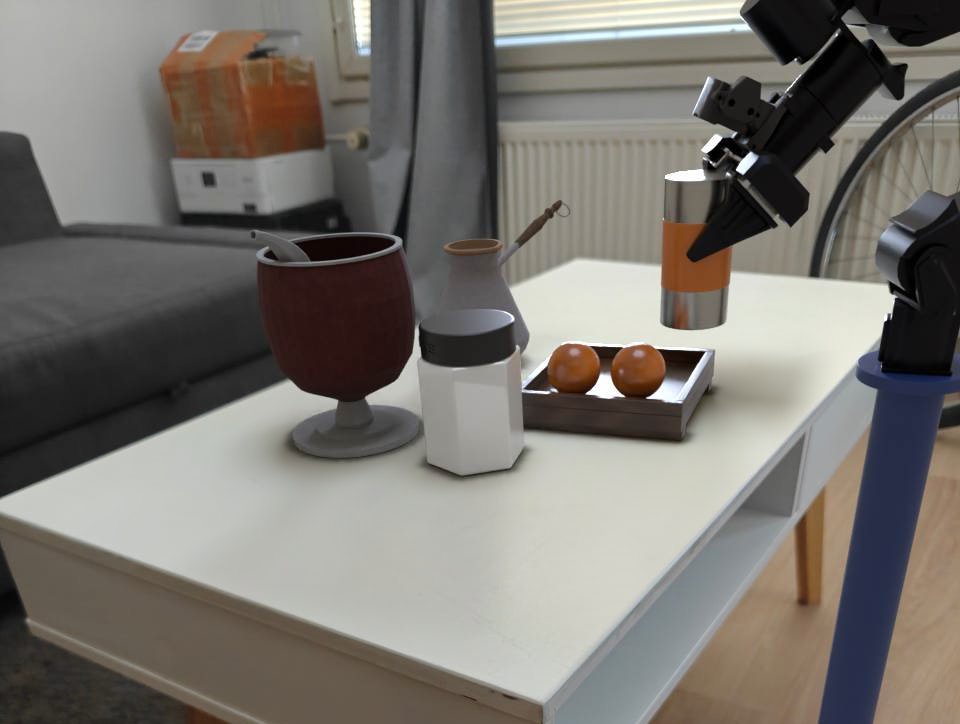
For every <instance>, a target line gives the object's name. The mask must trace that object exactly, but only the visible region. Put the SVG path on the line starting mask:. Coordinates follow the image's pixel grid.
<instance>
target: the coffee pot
mask: <svg viewBox="0 0 960 724" xmlns="http://www.w3.org/2000/svg"><path fill="white" fill-rule="evenodd" d="M562 205H563V206H564V207H566V208H567V209H568V214H567V215H564V214H561V213H560V212H558V211H559V210H560V208H561V207H562ZM555 214H556V215H558V216H559V217H561V218H567V217H569V216H570V215H571V208H570V206H569V205H568V204H566V203H565V202H563V200H562V199H558V200H556V201H555V202H553V204H552V205H551V207H546V208H545V209H544V213H543V214H541V215H540V216H538V217H537V218H535V219H533V221H532V222H531V223H530V224H529V225H528V226H527V228H526V229H524V231H523V232H522V233H521V234H520V235H518V238H516V240H515V241H514V242H513V244H511V245H510V246H509V247H508V248H507V249H506V250H505V251H504V252H503V253H501V255H500V250H501V249H502V248H503V246H504V242H503V241H502V240H499V239H493V238H470V239H463V240H457V241H452V242H449V243H447V244H445V245H444V246H443V252H444V253H445V254H447V256H448V260H449V263H450V269H449V273H448V275H447V279H446V282H445V286H444V289H443V292H442V294H441V299H440V302H439V306H438V309H437V312H436V315H437V314H440V313H445V312H450V311H456V310H466V309H490V310H498V311H503V312H506V313H508V314H510V315H512V316H513V317H514V319H515V331H516V345H517V346H519V347H520V356H522V354H523V353H524V352H525V351H526V349H527V348H528V345H529V342H530V338H531V337H530V335H531V334H530V331H529V329H528V326H527V324H526V322H525V320H524V318H523V316H522V313H521V311H520V309H519V307H518V304H517V303H516V301H515V300H516V299H515V298H514V295H513V293H512V291H511V290H510V287H509V285H508V282H507V280H506V278H505V276H504V274H503V271H502V269H501V267H502V266H503V265H505V264H506V262H508V260H509V259H510V258H511V257H512V256H513V255H514V254H515V253H516V252H517V250H518V249H521V248H522V247H523V246H524V245H525V244H527V242H529V240H531V239H532V238H534V236H535V235H536V234H538V233H539V232H540V231H541V230H542V229H543V227H544V226H545V225H546V223H547V222H548V220H550V219H553V218H554V216H555Z"/></svg>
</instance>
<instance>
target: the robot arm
mask: <svg viewBox="0 0 960 724" xmlns="http://www.w3.org/2000/svg"><path fill="white" fill-rule="evenodd" d="M738 16H739V17H740V18H741V19H742V20H743V21H744V23H745V24H746V25H747V26H748V27H749V29H750V30H751V31H752V32H753V33H754V35H755V36H756V37H757V38H758V40H759V41H760V42H761V43H762V45H764V47H765V48H766V49H767V51H768V52H769V53H770V54H771V56H773V58H774V59H775V60H776V61H777V62H778V64H779V65H780V66H781V67H784V66H787V65H789V64H790V63H792V62H793V61H795V63H796V64H797V65H798V66H803V65H805V64H806V63H808V62H810V60H812V59H813V58H814V57H815V56H816V55H817V54H818V53H819V54H818V55H817V56H816V57H815V58H814V59H813V61H812V62H810V64H809V65H808V66H807V67H806V68H805V70H803V72H802V73H801V74H800V75H798V77H797V78H796V79H795V80H794V81H793V82H792V84H791V85H790V86H789V87H788V88H787V89H786V90H785V92H784V91H780V90H778V91H773V92H772V93H771V94H770V95H769V96H768V97H767V98H766V100H764V99H763V98H761V96H762V83H761V82H760V81H757V80H756V79H753V78H752V77H749V76H747V75H740V76H739V77H738V78H736V80H735V81H733V82H732V84H730V83H728V82H727V81H724V80H721V79H718V78H716V77H711V76H708V77H707V79H706V82H705V84H704V86H703V88H702V90H701V93H700V95H699V97H698V100H697V103H696V105H695V107H694V109H693V110H692V111H693V112H692V113H691V114H692V116H694V117H696V118H698V119H700V120H703V121H705V122H707V123H709V124H711V125H713V126H716V125H719V126H722V127H724V128H726V129H728V130H730V131H733V132H734V133H733V134H732V133H729V132H725V133H715V134H714V135H713V136H712V137H711V138H710V139H709V140H708V142H707V143H706V144H705V145H704V146H703V148H701V150H700V151H701V153H702V154H703V155H704V156H705V157H706V158H705V157H703V158H702V162H701V165H702V170H729V171H734V172H736V173H737V179H736V178H735V177H734V176H733V175H731V174H729V173H728V172H727V173H726V179H725V190H724V199H723V201H722V203H721V204H720V205H719V207H718V208H717V210H716V211H715V212H714V214H713V215H712V217H711V218H710V219H709V221H708V222H707V224H706V225H705V226H704V228H703V229H702V231H701V232H700V233H699V235H698V236H697V238H696V239H695V241H694V242H693V244H692V245H691V247H690V248H689V250H688V251H687V253H686V256H687V257H688V258H689V259H690V260H691V261H692V262H693V263H695V262H697V261H699V260H701V259H704V258H706V257H708V256H710V255H712V254H714V253H717V252H719V251H721V250H723V249H725V248H727V247H730V246H732V245H733V246H734V245H736V244H738V243H741V242H743V241H745V240H748V239H750V238H752V237H756V236H757V235H759V234H762V233H764V232H766V231H770V230H775V229H777V228H778V227H779V224H778V223H777V222H776V220H775V219H774V218H775V217H776V216H778V219H779V220H780V222H781V223H782V224H784V226H785V225H786V226H787V227H788V228H790V229H792V227H793V226H794V225H795V224H796V223H798V221H799V220H800V219H802V217H803V216H804V215H805V214H806V213H807V212H808V211H809V204H810V195H811V193H810V191H808V189H807V188H806V187H805V186H804V185H803V183H802V182H801V181H800V180H799V179H798V177H796V176H797V175H798V174H800V172H801V171H802V170H803V169H804V168H805V167H806V166H807V165H808V164H809V163H810V162H811V161H812V159H814V158H815V156H816V155H817V154H818V153H822V154H824V155H827V154H828V152H829V151H830V150H831V149H832V148H833V147H835V145H836V143H835V142H834V141H833V140H832V138H833V137H834V136H835V135H837V133H838V132H839V131H840V130H841V129H842V128H843V127H844V126H845V125H846V123H847V122H848V121H849V120H850V119H852V117H853V116H854V115H855V114H856V113H857V112H858V111H859V110H860V109H861V108H862V106H863V105H864V104H865V103H866V102H867V101H868V100H870V98H871V97H872V96H873V95H874V94H875V93H876V92H878V93H879V94H880V97H882V98H883V99H886V100H892V101H896V102H897V101H898V102H899V101H902V100H903V99H904V97H905V91H906V89H905V88H906V74H907V72H908V69H909V64H908V63H907V62H901V61H900V62H898V61H897V62H892V61H890V59H889V58H888V57H887V55H886V54H885V53H884V52H883V50H882V49H881V47H880V46H879V45H881V46H885V47H886V46H887V47H904V48H920V47H925V46H927V45H930V44H932V43H935V42H938V41H940V40H942V39H945V38H949V37H951V36H954V35H956V34H958V33H960V0H745V1H744V3H743V5H741V7H740V10H739V12H738ZM849 26H852V27H853V26H854V27H859V28H866V31H867V33H868V36H870V37H871V38H867V39H864V40H862V41H860V40H859V38H858V37H857V36H856V35H855V34H854V32H853V31H852V30H851V29H850V28H849ZM833 36H834V37H833ZM832 37H833V39H831V38H832ZM829 41H830V42H829ZM828 42H829V43H828ZM825 45H826V46H825ZM820 51H821V52H820ZM888 222H889V223H891V225H890V226H889V227H888V228H887V229H886V230H885V231H884V232H883V233H882V234H881V235H880V236H879V238H878V240H877V243H876V244H877V245H876V249H875V253H874V263H875V266H876V269H877V271H878V273H879V274H880V275H881V276H882V277H883V278H884V279H885V280H886V283H887V287H888V293H889V294H890V295H891V296H895V297H894V299H893V304H892V311H891V312H888V313H886V314H885V315H884V318H883V319H884V320H883V324H882V331H881V337H880V340H879V341H880V342H879V347H878V350H879V353H878V359H877V360H878V361H879V362H882V365H881V372H883V373H896V374H915V375H933V376H952V374H953V358H954V353H955V354H956V348H957V344H958V339H959V334H960V190H959V191H957V192H954V193H952V194H950V195H944V194H941V193H939V192H937V191H934V190H931V189H927V190H925V191H924V192H923V193H921V194H920V195H919V196H918V197H917V198H916V199H915V200H914V201H913V202H912V203H911V204H910V205H909V206H908V207H907V208H906V209H905V210H904V211H902V212H901V213H899V214H897V215H894V216H891V217H890V218H889V219H888Z"/></svg>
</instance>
